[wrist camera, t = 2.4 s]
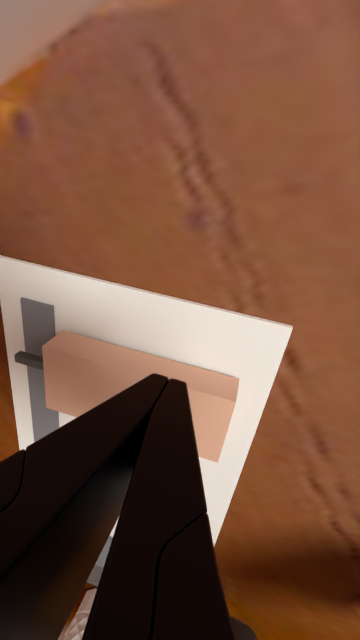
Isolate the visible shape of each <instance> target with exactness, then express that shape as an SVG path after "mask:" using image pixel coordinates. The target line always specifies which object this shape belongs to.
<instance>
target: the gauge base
mask: <svg viewBox="0 0 360 640" xmlns="http://www.w3.org/2000/svg"><path fill="white" fill-rule="evenodd" d="M0 302H1V310H2V318H3V325H4V333H5V341H6V348H7V356H8V364H9V371H10V379H11V387H12V394H13V402H14V410H15V418H16V425H17V433H18V441H19V448H20V450H22V449H24V450H25V451H26V447H27V446H29V445H31V444H32V443H34V442H36V441H37V440H39V439H41V438H43V437H44V436H46V435H48V434H49V433H51V432H53V431H55V430H56V429H58V428H60V427H61V426H63V425H65V424H66V423H68V422H70V421H72V420H73V419H75V418H77V417H74V416H71V415H68V414H64V413H61V412H58V411H55V410H52V409H49V408H46V397H45V382H44V371H43V370H40V369H37V368H33V367H30V366H27V365H23V364H20V363H17V362H15V357H14V355H15V354H16V353H18V352H19V351H20V350H21V351H24V352H27V353H31V354H34V355H38V356H41V357H43V352H42V346H43V345H44V344H46V343H47V342H48V341H50V340H51V339H52V338H53V337H55V336H56V335H57V334H59V333H60V332H61V331H63V330H64V331H68V332H71V333H75V334H78V335H82V336H86V337H89V338H93V339H97V340H100V341H104V342H108V343H111V344H115V345H118V346H122V347H126V348H129V349H133V350H137V351H140V352H144V353H148V354H151V355H155V356H158V357H162V358H166V359H169V360H173V361H177V362H180V363H184V364H187V365H191V366H195V367H198V368H202V369H206V370H209V371H213V372H217V373H220V374H224V375H227V376H231V377H235V378H238V379H239V386H238V392H237V399H236V404H235V407H234V411H233V414H232V417H231V421H230V424H229V427H228V431H227V434H226V437H225V441H224V444H223V447H222V451H221V454H220V457H219V461H218V463H217V462H214V461H211V460H207V459H204V458H201V457H199V461H200V468H201V474H202V480H203V486H204V492H205V498H206V505H207V514H208V516H209V522H210V528H211V534H212V540H213V545H214V546H215V543H216V540H217V537H218V535H219V532H220V529H221V526H222V524H223V521H224V518H225V515H226V512H227V510H228V507H229V504H230V501H231V498H232V496H233V493H234V490H235V487H236V485H237V482H238V479H239V476H240V473H241V471H242V468H243V465H244V462H245V460H246V457H247V454H248V451H249V448H250V446H251V443H252V440H253V437H254V434H255V432H256V429H257V426H258V423H259V421H260V418H261V415H262V412H263V409H264V407H265V404H266V401H267V398H268V396H269V393H270V390H271V387H272V384H273V382H274V379H275V376H276V373H277V371H278V368H279V365H280V362H281V359H282V357H283V354H284V351H285V348H286V345H287V343H288V340H289V337H290V334H291V332H292V329H293V326H292V325H287V324H283V323H279V322H275V321H271V320H267V319H263V318H258V317H254V316H250V315H246V314H242V313H238V312H234V311H229V310H225V309H221V308H217V307H213V306H209V305H205V304H201V303H196V302H192V301H188V300H184V299H180V298H176V297H172V296H167V295H163V294H159V293H155V292H151V291H147V290H143V289H138V288H134V287H130V286H126V285H122V284H118V283H114V282H109V281H105V280H101V279H97V278H93V277H89V276H85V275H80V274H76V273H72V272H68V271H64V270H60V269H56V268H51V267H47V266H43V265H39V264H35V263H31V262H27V261H22V260H18V259H14V258H10V257H6V256H2V255H0ZM118 519H119V518H118ZM117 522H118V520H117ZM117 522H116V524H115V526H114V528H113V530H112V532H111V534H110V536H109V538H108V540H107V542H106V544H105V546H104V548H103V550H102V552H101V554H100V556H99V558H98V560H97V562H96V564H95V566H94V568H93V570H92V572H91V574H90V576H89V578H88V580H87V583H90V584H92V585H94V586H97V587H98V584H99V581H100V578H101V574H102V571H103V568H104V565H105V561H106V558H107V555H108V552H109V548H110V545H111V542H112V538H113V535H114V532H115V529H116V525H117Z"/></svg>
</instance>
